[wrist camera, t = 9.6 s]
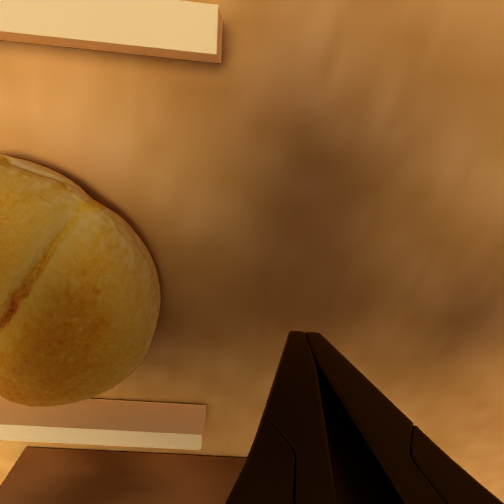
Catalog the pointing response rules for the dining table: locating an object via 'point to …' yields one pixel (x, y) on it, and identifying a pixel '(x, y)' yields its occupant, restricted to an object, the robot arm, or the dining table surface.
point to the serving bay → (131, 42)
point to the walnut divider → (118, 478)
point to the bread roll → (68, 290)
